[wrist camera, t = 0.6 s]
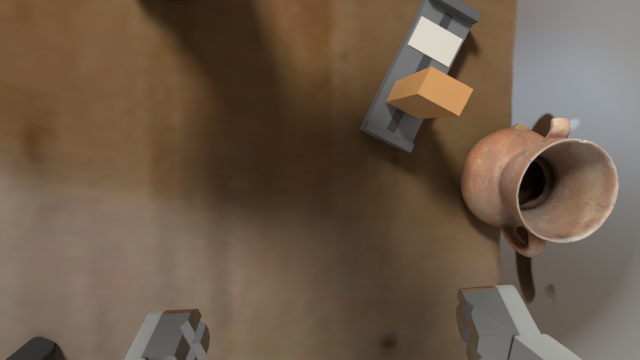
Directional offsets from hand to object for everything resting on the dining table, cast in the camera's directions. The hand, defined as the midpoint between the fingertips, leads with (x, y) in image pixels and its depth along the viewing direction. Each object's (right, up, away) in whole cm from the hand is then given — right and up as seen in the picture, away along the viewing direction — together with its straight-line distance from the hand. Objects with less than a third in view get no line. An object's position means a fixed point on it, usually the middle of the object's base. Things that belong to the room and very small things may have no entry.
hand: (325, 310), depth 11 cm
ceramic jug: (+27, +4, +44) cm, 52 cm away
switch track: (+13, +19, +40) cm, 46 cm away
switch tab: (+11, +15, +37) cm, 42 cm away
